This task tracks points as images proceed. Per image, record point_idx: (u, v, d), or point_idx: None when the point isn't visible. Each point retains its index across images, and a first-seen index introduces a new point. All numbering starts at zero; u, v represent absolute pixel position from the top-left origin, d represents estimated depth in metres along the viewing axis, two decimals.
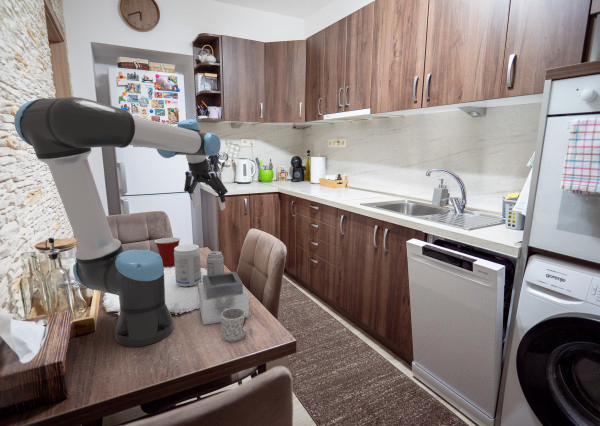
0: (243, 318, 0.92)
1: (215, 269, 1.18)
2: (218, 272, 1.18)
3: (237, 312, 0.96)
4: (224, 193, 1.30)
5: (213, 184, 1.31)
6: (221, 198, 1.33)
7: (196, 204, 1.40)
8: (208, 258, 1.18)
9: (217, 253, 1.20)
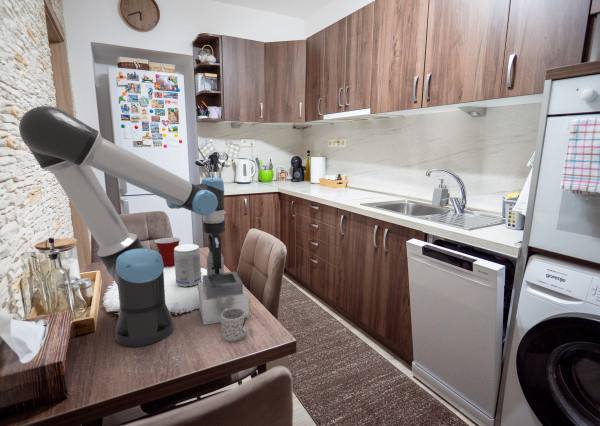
0: (243, 318, 0.92)
1: None
2: None
3: (237, 312, 0.96)
4: (214, 268, 1.14)
5: None
6: (215, 272, 1.17)
7: None
8: (208, 258, 1.18)
9: None
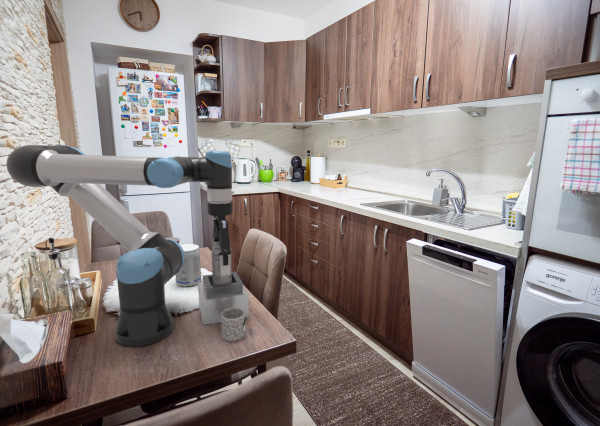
0: (243, 318, 0.92)
1: None
2: None
3: (237, 312, 0.96)
4: (222, 253, 0.94)
5: None
6: (223, 258, 0.97)
7: None
8: (213, 249, 1.02)
9: None
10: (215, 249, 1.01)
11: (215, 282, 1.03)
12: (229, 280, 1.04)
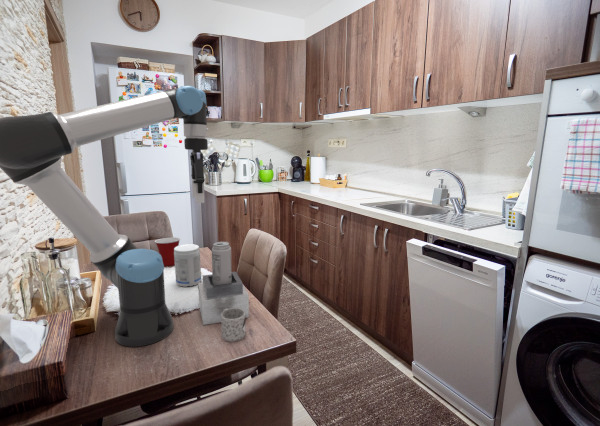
0: (243, 318, 0.92)
1: (221, 262, 1.02)
2: (225, 266, 1.02)
3: (237, 312, 0.96)
4: (196, 179, 1.04)
5: None
6: (197, 186, 1.07)
7: (195, 194, 1.20)
8: (213, 249, 1.02)
9: (224, 244, 1.04)
10: (215, 249, 1.01)
11: (215, 282, 1.03)
12: (229, 280, 1.04)
